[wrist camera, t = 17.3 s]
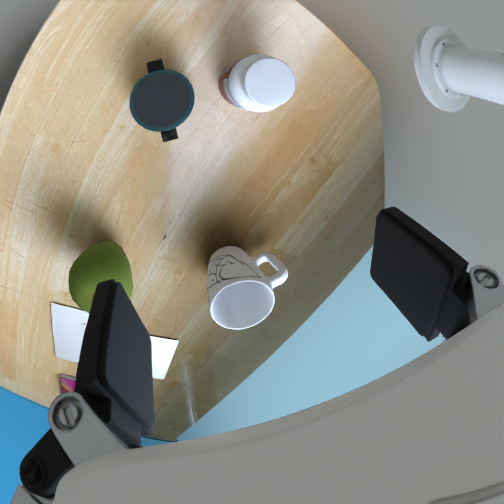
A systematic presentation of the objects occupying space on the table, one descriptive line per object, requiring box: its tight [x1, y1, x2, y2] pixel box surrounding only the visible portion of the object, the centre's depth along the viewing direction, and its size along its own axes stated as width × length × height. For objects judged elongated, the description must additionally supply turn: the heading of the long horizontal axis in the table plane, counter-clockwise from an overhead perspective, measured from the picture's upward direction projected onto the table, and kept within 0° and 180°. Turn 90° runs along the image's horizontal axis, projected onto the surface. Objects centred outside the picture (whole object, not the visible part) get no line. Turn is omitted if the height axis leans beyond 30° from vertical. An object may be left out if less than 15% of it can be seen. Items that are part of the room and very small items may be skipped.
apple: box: [69, 241, 133, 313], centre depth 33 cm, size 9×8×12 cm
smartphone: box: [59, 374, 76, 394], centre depth 52 cm, size 7×1×15 cm
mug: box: [207, 246, 288, 329], centre depth 40 cm, size 11×8×10 cm
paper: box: [51, 302, 178, 379], centre depth 46 cm, size 25×17×1 cm
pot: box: [130, 59, 194, 142], centre depth 26 cm, size 7×9×6 cm
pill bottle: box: [219, 54, 295, 112], centre depth 26 cm, size 6×6×11 cm
